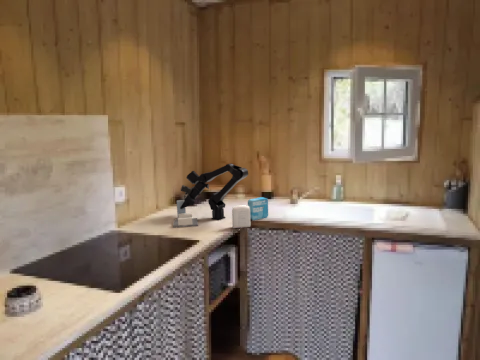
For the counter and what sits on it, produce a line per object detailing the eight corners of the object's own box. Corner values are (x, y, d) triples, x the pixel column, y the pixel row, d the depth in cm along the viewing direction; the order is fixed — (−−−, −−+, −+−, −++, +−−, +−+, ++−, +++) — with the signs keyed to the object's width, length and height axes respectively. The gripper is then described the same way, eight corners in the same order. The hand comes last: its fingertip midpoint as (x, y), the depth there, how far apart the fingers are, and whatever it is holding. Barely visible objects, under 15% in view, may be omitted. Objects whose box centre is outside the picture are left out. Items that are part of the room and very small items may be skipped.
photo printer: (249, 225, 218) (249, 203, 216) (251, 227, 213) (250, 205, 212) (231, 226, 216) (231, 205, 214) (233, 228, 212) (232, 206, 210)
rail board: (197, 219, 234) (196, 212, 233) (197, 226, 219) (197, 218, 219) (174, 220, 232) (173, 213, 231) (173, 227, 217) (172, 220, 217)
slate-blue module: (185, 216, 241) (184, 199, 239) (185, 218, 237) (184, 201, 235) (177, 217, 240) (176, 200, 239) (177, 219, 236) (176, 201, 234)
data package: (252, 220, 227) (251, 200, 225) (248, 219, 231) (247, 199, 229) (268, 217, 233) (268, 197, 231) (264, 215, 237) (263, 196, 235)
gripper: (187, 178, 244) (171, 196, 245) (187, 183, 226) (170, 202, 226) (200, 189, 247) (184, 207, 247) (201, 195, 228) (184, 214, 229)
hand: (180, 207), depth 237 cm, fingers closed on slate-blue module, 4 cm apart
